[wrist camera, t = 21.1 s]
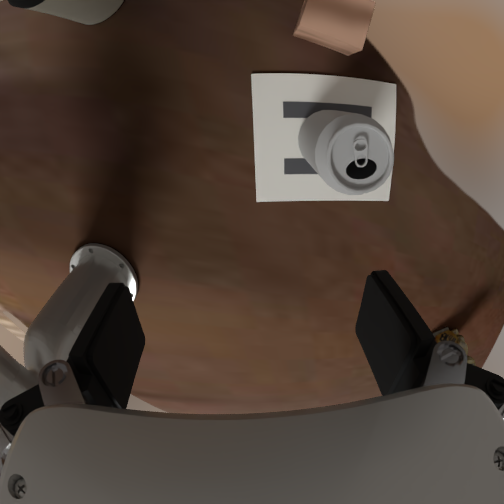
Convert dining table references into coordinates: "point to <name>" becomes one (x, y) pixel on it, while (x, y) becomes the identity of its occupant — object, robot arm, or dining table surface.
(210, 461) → the robot arm
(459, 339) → the decorative figurine
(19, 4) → the travel mug
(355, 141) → the can
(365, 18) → the brown block
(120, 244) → the dining table surface
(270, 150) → the letter card
